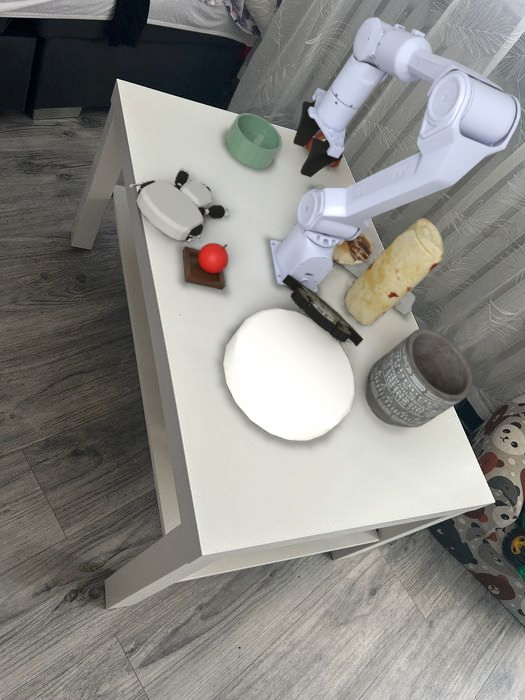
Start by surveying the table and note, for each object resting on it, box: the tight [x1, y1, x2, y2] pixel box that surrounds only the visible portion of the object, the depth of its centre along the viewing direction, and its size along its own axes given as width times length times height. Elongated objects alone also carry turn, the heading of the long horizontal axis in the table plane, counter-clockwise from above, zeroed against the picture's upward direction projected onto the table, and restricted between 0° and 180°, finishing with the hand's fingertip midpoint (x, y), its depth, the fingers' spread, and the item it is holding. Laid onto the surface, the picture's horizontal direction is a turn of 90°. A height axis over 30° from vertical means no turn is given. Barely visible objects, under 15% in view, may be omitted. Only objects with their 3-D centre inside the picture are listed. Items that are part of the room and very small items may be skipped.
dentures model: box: [304, 130, 344, 168], centre depth 124 cm, size 6×4×8 cm
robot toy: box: [129, 167, 231, 243], centre depth 94 cm, size 12×4×15 cm
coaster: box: [182, 246, 226, 291], centre depth 92 cm, size 6×6×1 cm
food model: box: [344, 217, 444, 327], centre depth 98 cm, size 10×7×20 cm
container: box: [222, 307, 356, 442], centre depth 87 cm, size 20×20×5 cm
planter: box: [365, 328, 474, 428], centre depth 92 cm, size 12×12×13 cm
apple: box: [198, 242, 229, 273], centre depth 91 cm, size 5×5×5 cm
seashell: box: [333, 231, 374, 266], centre depth 105 cm, size 8×6×10 cm
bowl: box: [225, 112, 283, 170], centre depth 113 cm, size 10×10×4 cm
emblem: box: [282, 274, 364, 347], centre depth 93 cm, size 16×2×15 cm
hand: (301, 159), depth 104 cm, fingers open, 7 cm apart
